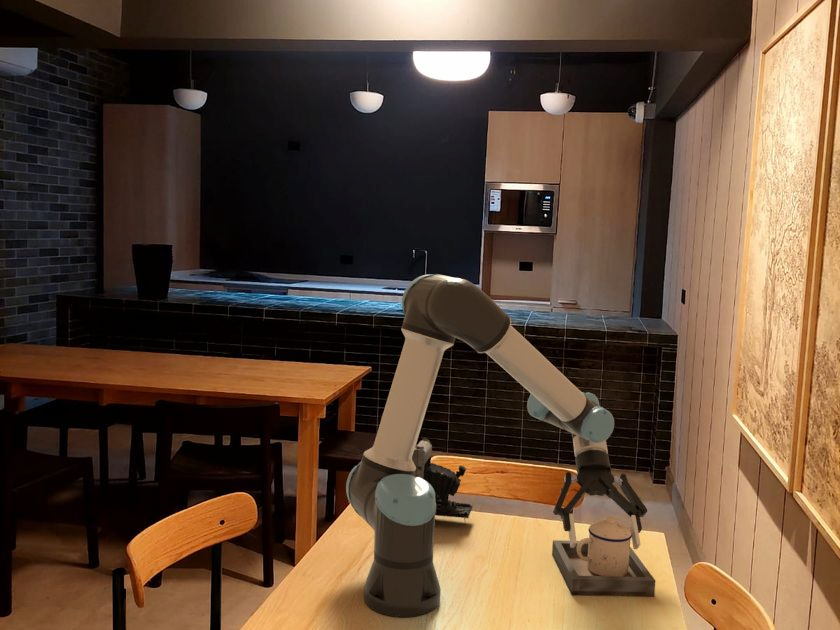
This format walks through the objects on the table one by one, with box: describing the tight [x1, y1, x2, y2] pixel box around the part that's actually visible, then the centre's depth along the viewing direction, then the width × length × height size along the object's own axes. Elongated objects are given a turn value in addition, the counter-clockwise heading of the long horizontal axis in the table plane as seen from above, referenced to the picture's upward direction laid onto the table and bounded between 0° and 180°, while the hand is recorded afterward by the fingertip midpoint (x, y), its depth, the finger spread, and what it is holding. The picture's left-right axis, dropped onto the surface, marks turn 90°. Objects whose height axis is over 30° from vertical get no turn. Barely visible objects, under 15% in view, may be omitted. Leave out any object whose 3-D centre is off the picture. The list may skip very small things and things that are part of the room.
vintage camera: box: [412, 438, 474, 521], centre depth 188 cm, size 10×16×20 cm, turn 78°
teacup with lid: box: [577, 516, 632, 577], centre depth 162 cm, size 12×9×12 cm
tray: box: [551, 539, 656, 598], centre depth 163 cm, size 17×19×4 cm
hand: (605, 546), depth 160 cm, fingers open, 13 cm apart
